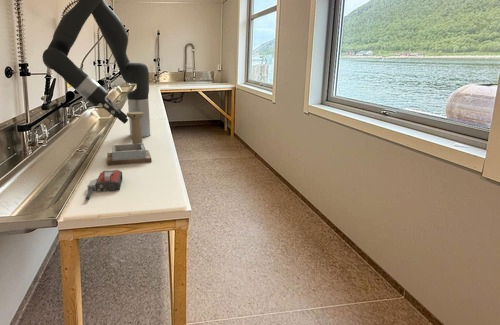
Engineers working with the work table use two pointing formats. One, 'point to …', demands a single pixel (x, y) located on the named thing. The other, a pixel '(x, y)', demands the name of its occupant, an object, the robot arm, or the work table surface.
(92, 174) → the work table surface
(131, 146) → the collar
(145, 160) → the board
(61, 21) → the robot arm
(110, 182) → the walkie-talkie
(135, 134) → the handle
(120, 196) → the work table surface
